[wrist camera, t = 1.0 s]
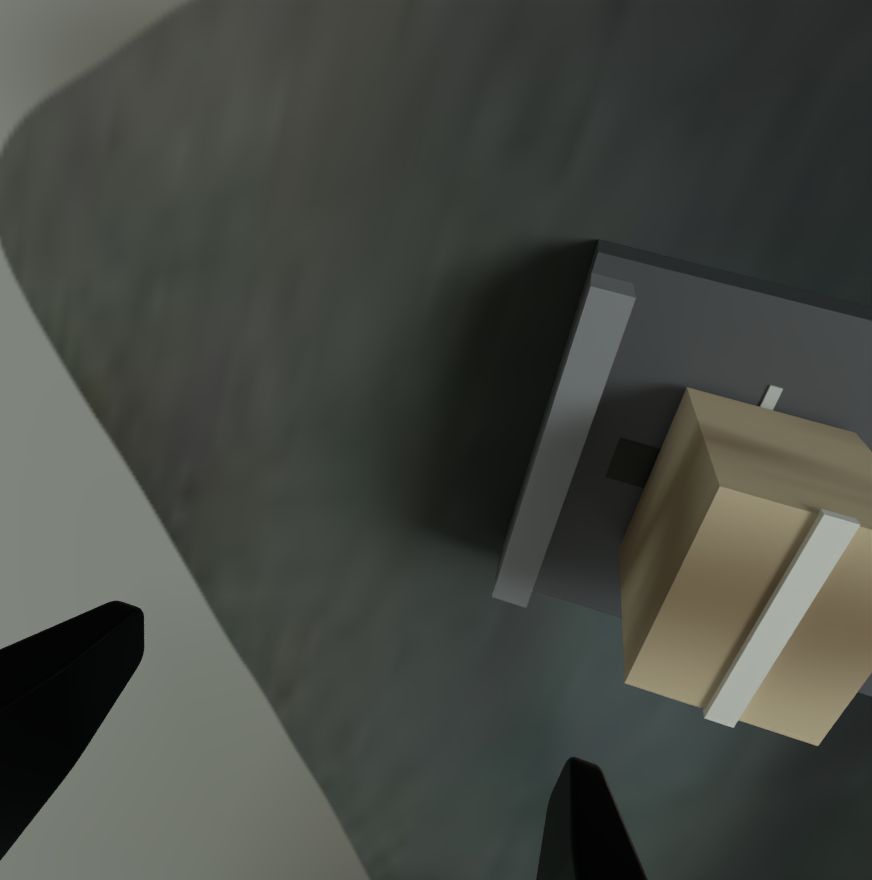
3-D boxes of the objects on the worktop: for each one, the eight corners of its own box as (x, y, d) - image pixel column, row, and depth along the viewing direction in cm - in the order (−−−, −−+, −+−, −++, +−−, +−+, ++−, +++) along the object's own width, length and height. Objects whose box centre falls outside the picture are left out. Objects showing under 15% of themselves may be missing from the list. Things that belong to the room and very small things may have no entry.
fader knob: (762, 595, 18) (817, 755, 13) (617, 551, 18) (623, 691, 14) (857, 429, 15) (965, 554, 11) (688, 383, 16) (723, 485, 11)
